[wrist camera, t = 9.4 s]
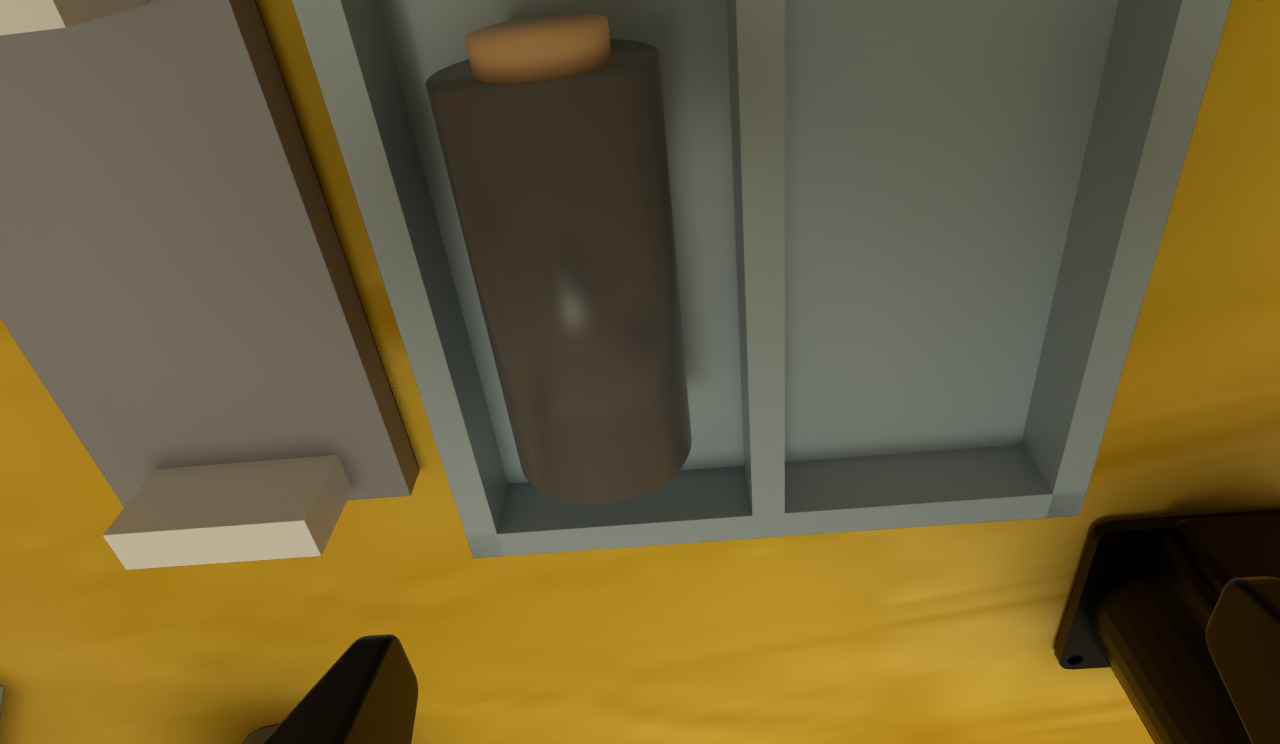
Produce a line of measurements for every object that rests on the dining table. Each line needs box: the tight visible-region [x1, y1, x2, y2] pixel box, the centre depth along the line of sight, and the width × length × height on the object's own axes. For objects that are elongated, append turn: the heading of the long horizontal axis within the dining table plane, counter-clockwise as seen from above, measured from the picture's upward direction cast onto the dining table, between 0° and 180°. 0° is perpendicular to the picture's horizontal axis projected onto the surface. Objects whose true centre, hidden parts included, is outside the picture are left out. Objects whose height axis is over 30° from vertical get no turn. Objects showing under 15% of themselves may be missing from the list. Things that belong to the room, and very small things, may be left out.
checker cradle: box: [0, 0, 419, 570], centre depth 17 cm, size 14×8×3 cm, turn 6°
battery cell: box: [425, 13, 692, 505], centre depth 15 cm, size 9×4×4 cm, turn 6°
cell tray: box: [292, 0, 1231, 558], centre depth 16 cm, size 16×15×2 cm
